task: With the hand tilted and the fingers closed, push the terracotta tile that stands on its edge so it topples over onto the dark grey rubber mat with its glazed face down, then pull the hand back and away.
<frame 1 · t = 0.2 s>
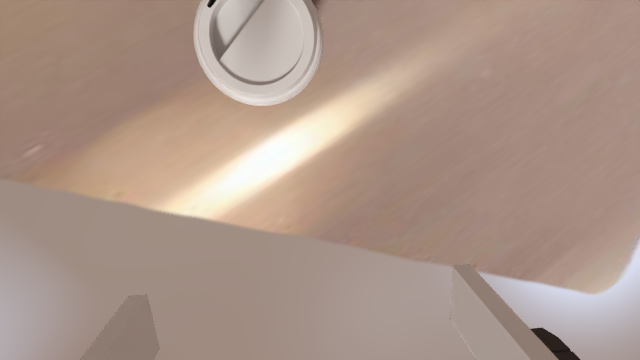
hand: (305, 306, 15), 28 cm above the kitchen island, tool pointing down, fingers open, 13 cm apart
coffee cup: (268, 56, 39), on the kitchen island
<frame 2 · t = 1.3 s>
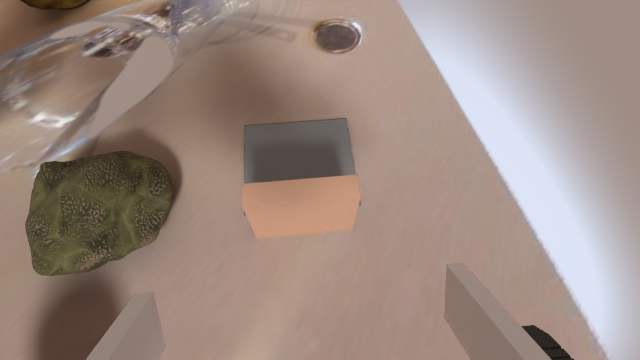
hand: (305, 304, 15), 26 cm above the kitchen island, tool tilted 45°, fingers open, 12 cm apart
mat: (299, 164, 49), on the kitchen island
potato: (69, 5, 65), on the kitchen island
decorative rock: (119, 222, 45), on the kitchen island
tile: (304, 225, 45), on the kitchen island
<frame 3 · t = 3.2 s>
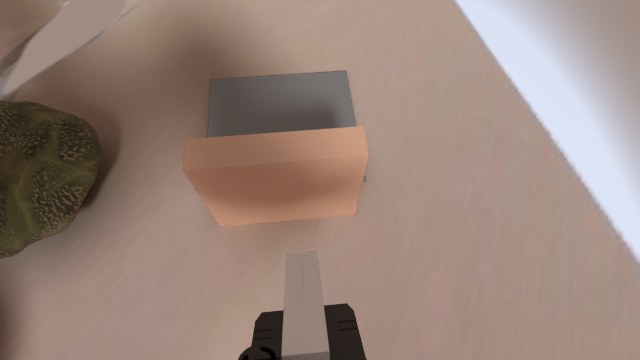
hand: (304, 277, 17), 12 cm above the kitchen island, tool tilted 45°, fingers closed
mat: (282, 128, 36), on the kitchen island
decorative rock: (29, 204, 32), on the kitchen island
tile: (287, 208, 32), on the kitchen island
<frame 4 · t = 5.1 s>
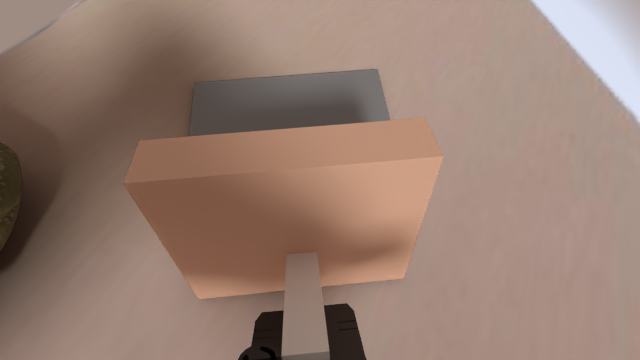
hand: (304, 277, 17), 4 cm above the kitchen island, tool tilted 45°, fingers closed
mat: (292, 149, 26), on the kitchen island
tile: (301, 270, 21), on the kitchen island, tilted 14°
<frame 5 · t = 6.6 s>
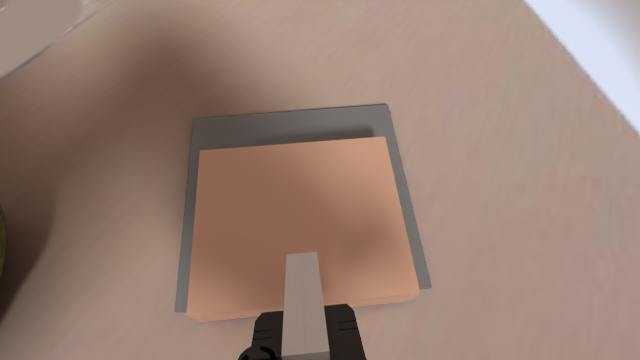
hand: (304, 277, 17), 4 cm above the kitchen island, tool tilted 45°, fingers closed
mat: (298, 194, 24), on the kitchen island
tile: (305, 308, 19), point 2 cm above the kitchen island, tilted 90°, touching gripper, mat
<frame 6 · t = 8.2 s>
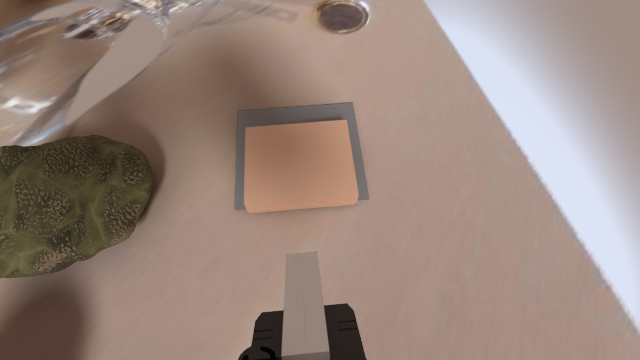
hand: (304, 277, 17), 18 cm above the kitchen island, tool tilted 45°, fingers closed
mat: (298, 152, 43), on the kitchen island
decorative rock: (92, 218, 39), on the kitchen island
tile: (302, 204, 38), point 2 cm above the kitchen island, tilted 90°, touching mat
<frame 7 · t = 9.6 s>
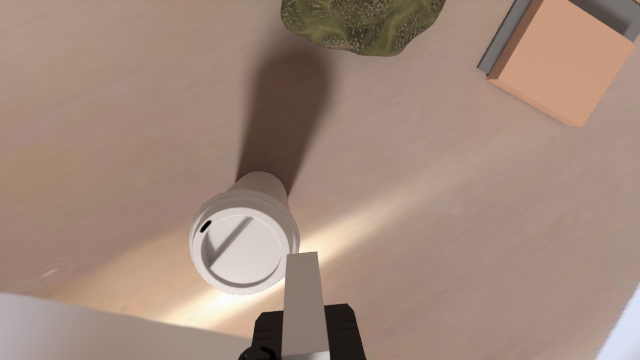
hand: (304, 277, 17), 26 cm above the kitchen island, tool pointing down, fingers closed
mat: (562, 41, 41), on the kitchen island
coffee cup: (260, 196, 43), on the kitchen island
tile: (533, 103, 41), point 2 cm above the kitchen island, tilted 90°, touching mat
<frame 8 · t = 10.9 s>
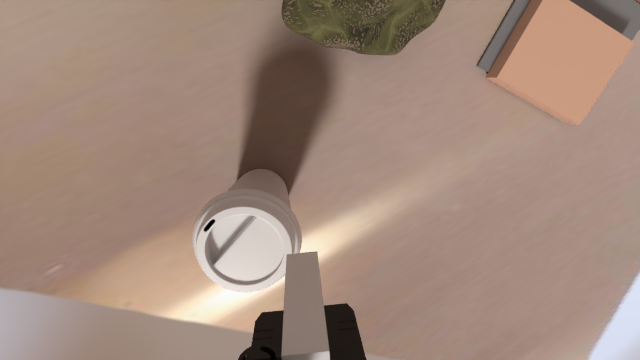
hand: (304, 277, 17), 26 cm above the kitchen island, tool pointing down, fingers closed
mat: (561, 39, 41), on the kitchen island
coffee cup: (261, 193, 44), on the kitchen island
tile: (532, 101, 41), point 2 cm above the kitchen island, tilted 90°, touching mat
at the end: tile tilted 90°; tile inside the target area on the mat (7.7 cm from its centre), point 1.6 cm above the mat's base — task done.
